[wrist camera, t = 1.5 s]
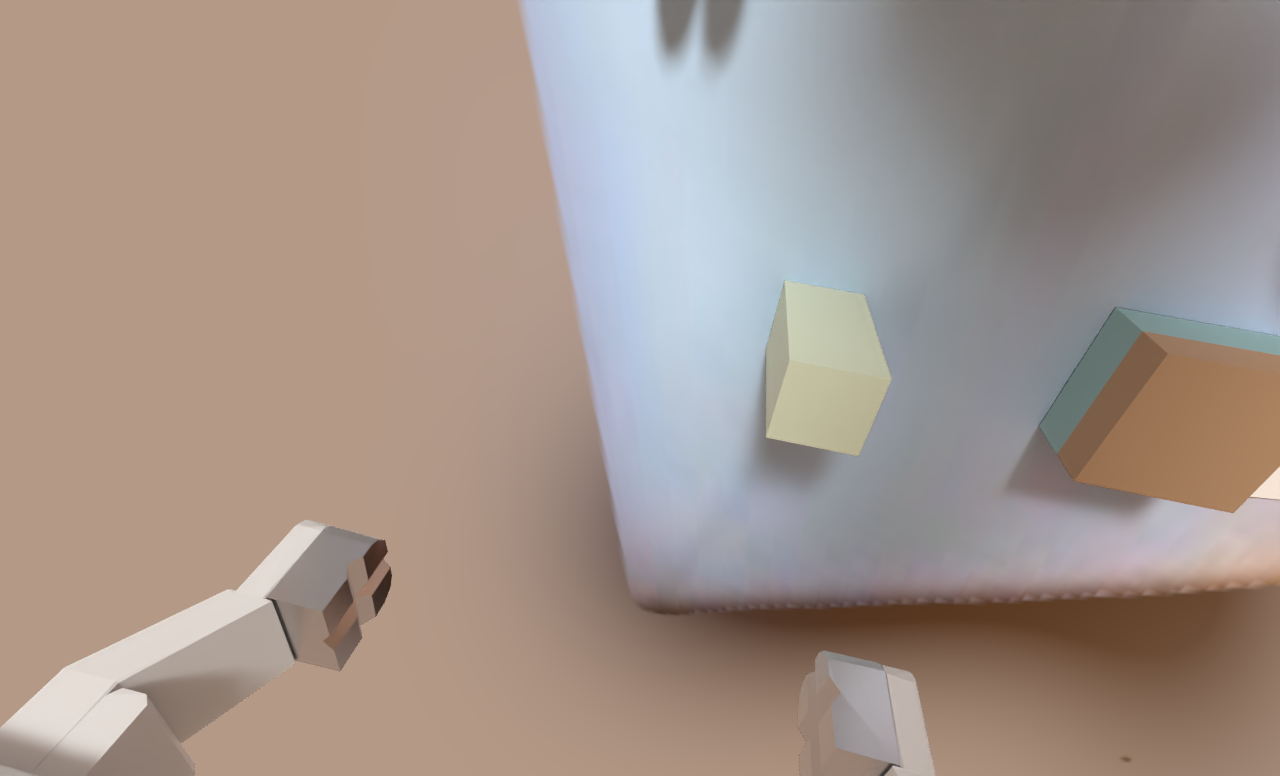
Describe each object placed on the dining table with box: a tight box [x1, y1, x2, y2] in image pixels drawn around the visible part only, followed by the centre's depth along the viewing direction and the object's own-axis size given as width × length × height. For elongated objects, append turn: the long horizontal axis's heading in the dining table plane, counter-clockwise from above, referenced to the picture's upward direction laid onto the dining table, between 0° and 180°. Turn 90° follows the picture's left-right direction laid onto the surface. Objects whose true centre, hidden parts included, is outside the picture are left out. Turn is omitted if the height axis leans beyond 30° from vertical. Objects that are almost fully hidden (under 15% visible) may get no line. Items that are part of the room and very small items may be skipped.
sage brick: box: [766, 280, 892, 456], centre depth 34 cm, size 5×5×10 cm
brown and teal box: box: [1039, 307, 1280, 513], centre depth 34 cm, size 9×9×6 cm
